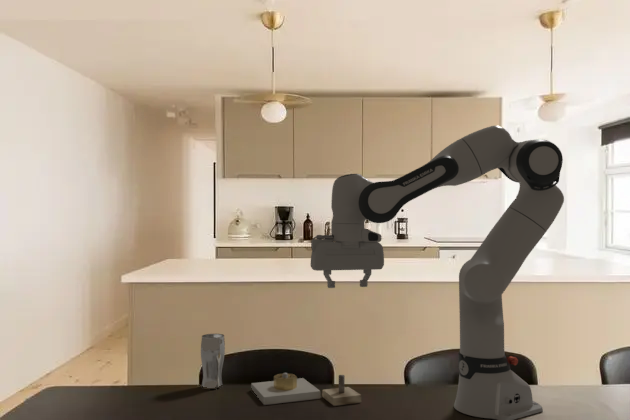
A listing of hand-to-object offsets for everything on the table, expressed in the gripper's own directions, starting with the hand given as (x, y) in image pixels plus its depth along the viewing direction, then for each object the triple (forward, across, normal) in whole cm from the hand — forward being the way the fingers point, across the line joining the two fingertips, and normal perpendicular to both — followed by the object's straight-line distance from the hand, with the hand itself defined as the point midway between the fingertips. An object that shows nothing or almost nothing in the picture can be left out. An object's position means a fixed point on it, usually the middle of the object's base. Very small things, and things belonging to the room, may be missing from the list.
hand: (347, 287), depth 137 cm
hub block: (+31, -12, +16) cm, 37 cm away
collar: (+29, -12, +16) cm, 35 cm away
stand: (+31, +1, +6) cm, 32 cm away
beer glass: (+31, -30, +30) cm, 53 cm away
